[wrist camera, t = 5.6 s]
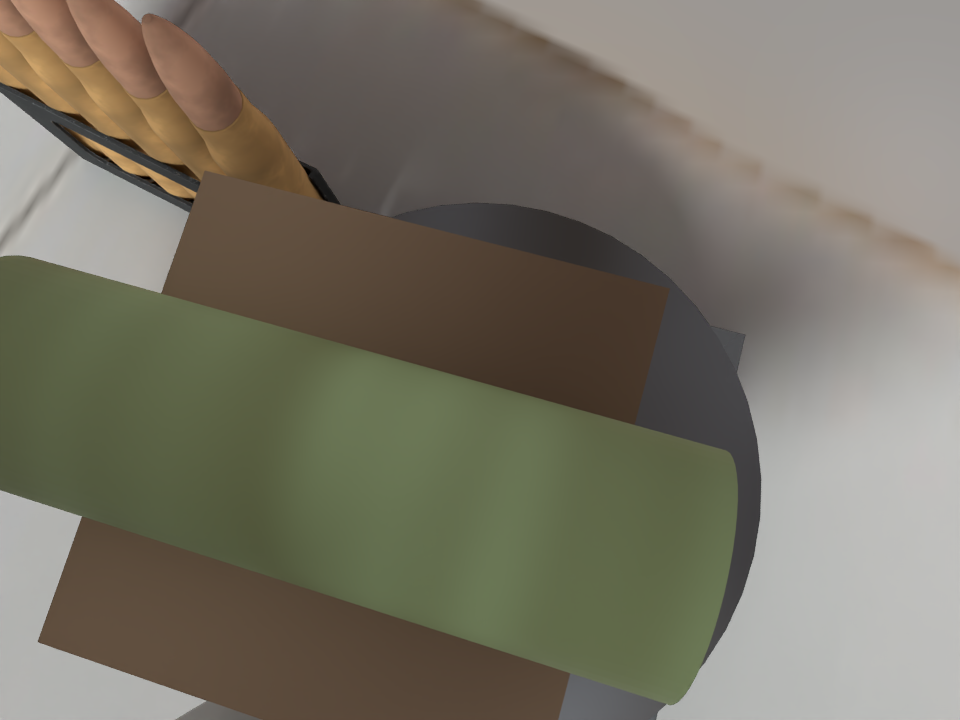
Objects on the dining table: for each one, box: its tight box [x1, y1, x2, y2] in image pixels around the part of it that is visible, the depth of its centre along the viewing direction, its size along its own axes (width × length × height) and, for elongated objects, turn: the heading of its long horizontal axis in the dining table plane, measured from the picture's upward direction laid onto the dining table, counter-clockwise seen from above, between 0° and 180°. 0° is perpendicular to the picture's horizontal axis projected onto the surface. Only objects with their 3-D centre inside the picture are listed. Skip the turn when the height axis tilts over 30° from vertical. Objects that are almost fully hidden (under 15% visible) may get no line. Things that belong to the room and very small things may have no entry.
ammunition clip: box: [0, 0, 341, 212], centre depth 19 cm, size 11×2×12 cm, turn 62°
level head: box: [0, 171, 761, 720], centre depth 10 cm, size 12×12×13 cm
